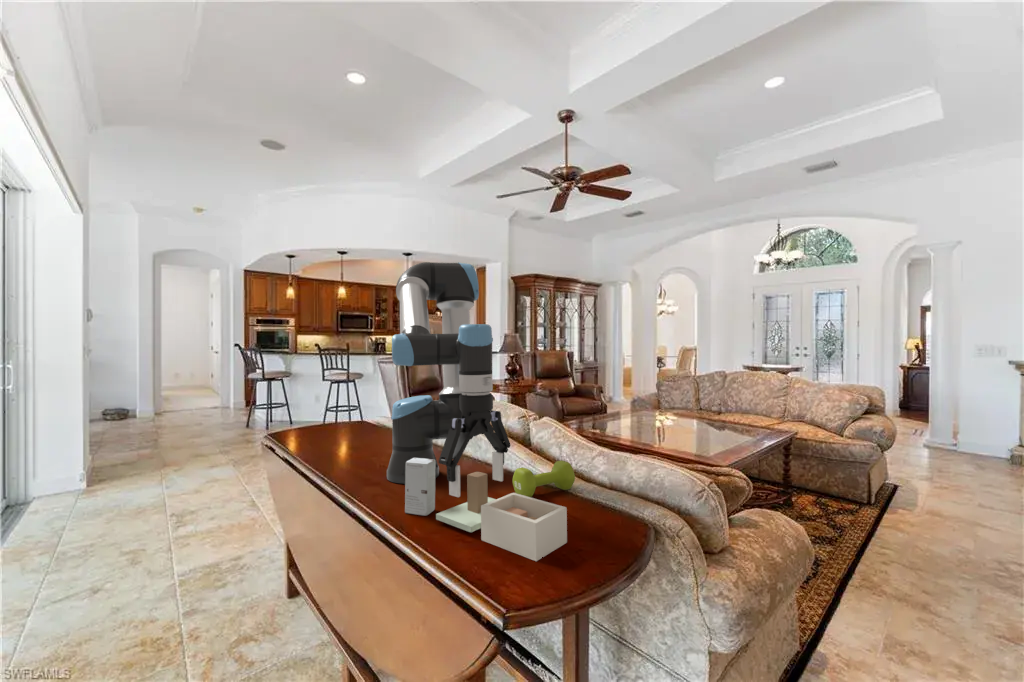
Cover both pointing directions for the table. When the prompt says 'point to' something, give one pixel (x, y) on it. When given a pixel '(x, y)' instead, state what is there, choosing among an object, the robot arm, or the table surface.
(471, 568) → the table surface
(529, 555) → the box
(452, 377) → the robot arm
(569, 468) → the dumbbell
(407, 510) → the skincare box
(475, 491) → the lid
